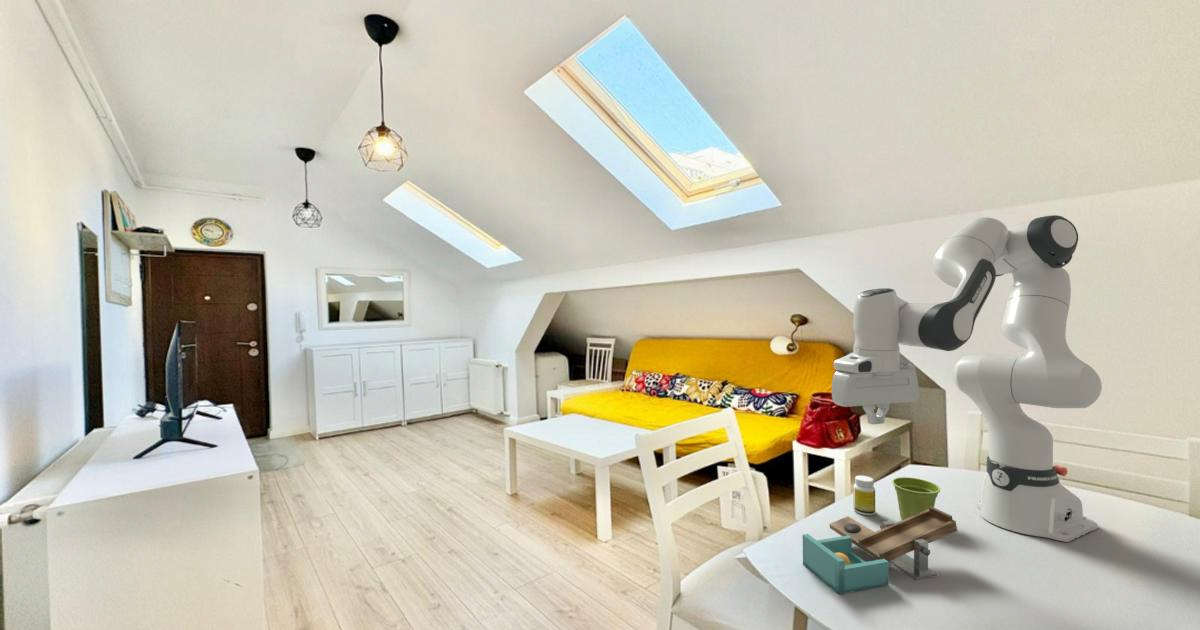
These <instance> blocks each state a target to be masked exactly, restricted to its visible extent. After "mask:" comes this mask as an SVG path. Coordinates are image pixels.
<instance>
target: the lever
mask: <svg viewBox="0 0 1200 630" xmlns="http://www.w3.org/2000/svg"><path fill="white" fill-rule="evenodd" d="M894 523H895V524H892V525H890V526H888V527H885V528H883V529H881V528H880V529H879V530H877V531H874V530H873V529H870V528H869V527H867V526H865V525H863V524H862V523H861V522H859V521H857V520H856V519H854V518H851V517H850V516H849V515H847V516H845V517H843V518H841V519H838V520H836V521H833V522H830V523H829V529H831V530H832V531H834V532H835V533H836V534H838V535H840V537H841V536H850V537H851V538H852V545H855V546H856V547H858V548H859V549H861V550H862V551H864V552H865V553H867V554H868V555H870V556H871V557H873V558H874V559H875V560H880V559H885V560H887V561H891V560H893V559H895V558H897V557H900V556H902V555H904V554H906V555H907V554H908V553H910V552H914V540H918V539H924V540H926V541H927V542H928V544H930V543H932V542H935V541H937V540H939V539H941V538H943V537H946V536H948V535H950V534H952V533H954V532H957V531H958V527H957V521H956V520H954V519H953V516H952V515H951V514H949V513H947V512H944V511H942V510H940V509H938V508H937V507H936V508H935V506H934V507H932V506H931V507H929V509H927V510H925V511H923V512H920V513H918V514H916V515H913V516H911V517H909V518H906V519H904V520H902V519H901V520H900V521H898V522H894Z"/></svg>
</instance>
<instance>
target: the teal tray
mask: <svg viewBox="0 0 1200 630" xmlns="http://www.w3.org/2000/svg"><path fill="white" fill-rule="evenodd" d="M835 553H843V554H845V555H846V556H847V557H848V558H849V560H850V562H851V565H845V561H844V560H843V559H842V558H840V557H839V556H838V555H836V554H835ZM889 564H890V563H889V562H888V561H887V560H885V559H880V560H877V559H875V560H870V561H866V560H864V559H863V558H861V557H859V556H858V555H856V554H855V553H853V543H852V538H851V537H850V536H841V535H840V536H836V537H830V538H822V539H816V538H815V537H813V536H811V535H810V534H809V533H805V534H804V533H803V534H802V565H803V566H805V568H807V569H808V570H809V571H810V572H812V573H813V574H814V575H815V576H816V577H818V578H819V579H820V580H821V581H822V582H824V583H825V584H826V585H827V586H828V587H829V588H831V589H832V590H833V591H834V592H836V593H837V594H838V595H842V594H848V593H853V592H858V591H865V590H869V589H874V588H875V589H876V588H880V587H886V586H889V580H890V579H889V577H890V576H889V573H890V571H889V569H890V568H889Z"/></svg>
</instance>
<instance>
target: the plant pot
mask: <svg viewBox="0 0 1200 630" xmlns="http://www.w3.org/2000/svg"><path fill="white" fill-rule="evenodd" d="M891 483H892V484H893V486H894V489H895V491H896V496H897V503H898V510H899V517H900V519H901V521H902V520H904V519H906V518H909V517H911V516H913V515H916V514H918V513H920V512H923V511H925V510H927V509H929V507H931V506H932V507H934V508H935V505H936V499H937V497H938V494H939V493H940V492H941V487H940V486H939V485H937V484H936V483H934V482H931V481H929V480H926V479H921V478H917V477H906V476H903V477H895V478H893V479H892V480H891Z"/></svg>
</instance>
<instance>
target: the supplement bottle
mask: <svg viewBox="0 0 1200 630" xmlns="http://www.w3.org/2000/svg"><path fill="white" fill-rule="evenodd" d="M874 484H875V482H874V479H873V478H872V477H870V476H867V475H855V478H854V484H853V486H852V487H853V489H852V490H853V502H852V503H853V505H852V506H853V507H852V508H853V511H854V512H855V513H857V514H858V515H862V516H868V517H869V516H874V515H875V514H876V489H875V485H874Z"/></svg>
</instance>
